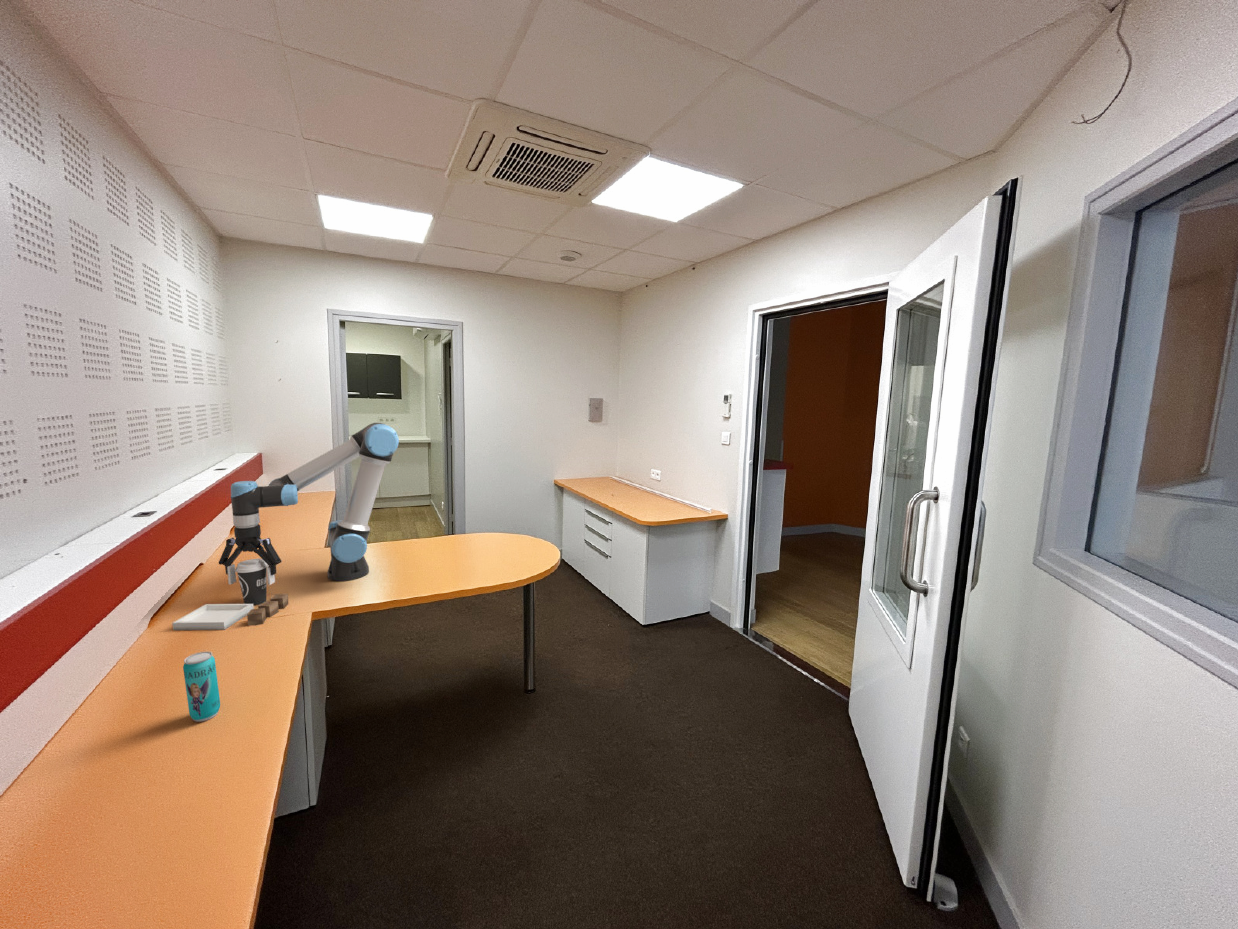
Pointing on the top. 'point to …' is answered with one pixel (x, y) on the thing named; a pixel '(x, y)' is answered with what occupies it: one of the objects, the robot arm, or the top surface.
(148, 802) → the top surface
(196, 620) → the tray
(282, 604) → the block
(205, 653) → the beverage can
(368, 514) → the robot arm
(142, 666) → the top surface
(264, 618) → the block
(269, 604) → the block
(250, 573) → the coffee cup
